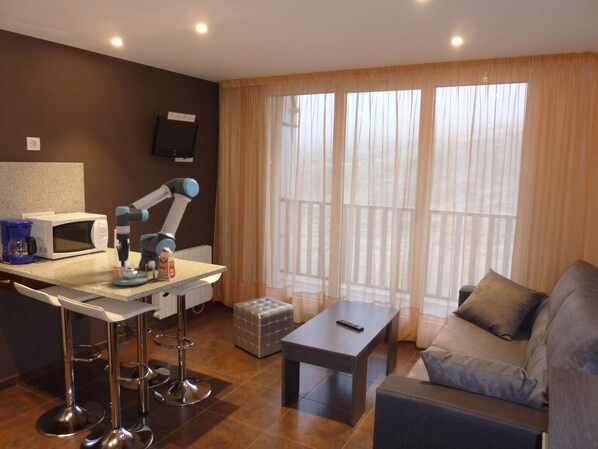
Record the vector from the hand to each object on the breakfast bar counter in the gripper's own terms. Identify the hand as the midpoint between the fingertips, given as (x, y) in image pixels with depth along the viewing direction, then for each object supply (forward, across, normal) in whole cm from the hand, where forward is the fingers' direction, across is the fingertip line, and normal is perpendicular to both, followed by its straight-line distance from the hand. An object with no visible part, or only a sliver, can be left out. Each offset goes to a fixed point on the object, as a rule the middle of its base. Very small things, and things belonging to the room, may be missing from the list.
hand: (123, 271), depth 275 cm
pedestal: (+5, +9, +8) cm, 13 cm away
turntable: (+3, +9, +8) cm, 12 cm away
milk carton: (+5, -6, +24) cm, 25 cm away
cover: (+2, +9, +8) cm, 12 cm away
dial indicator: (+5, +2, +18) cm, 19 cm away
